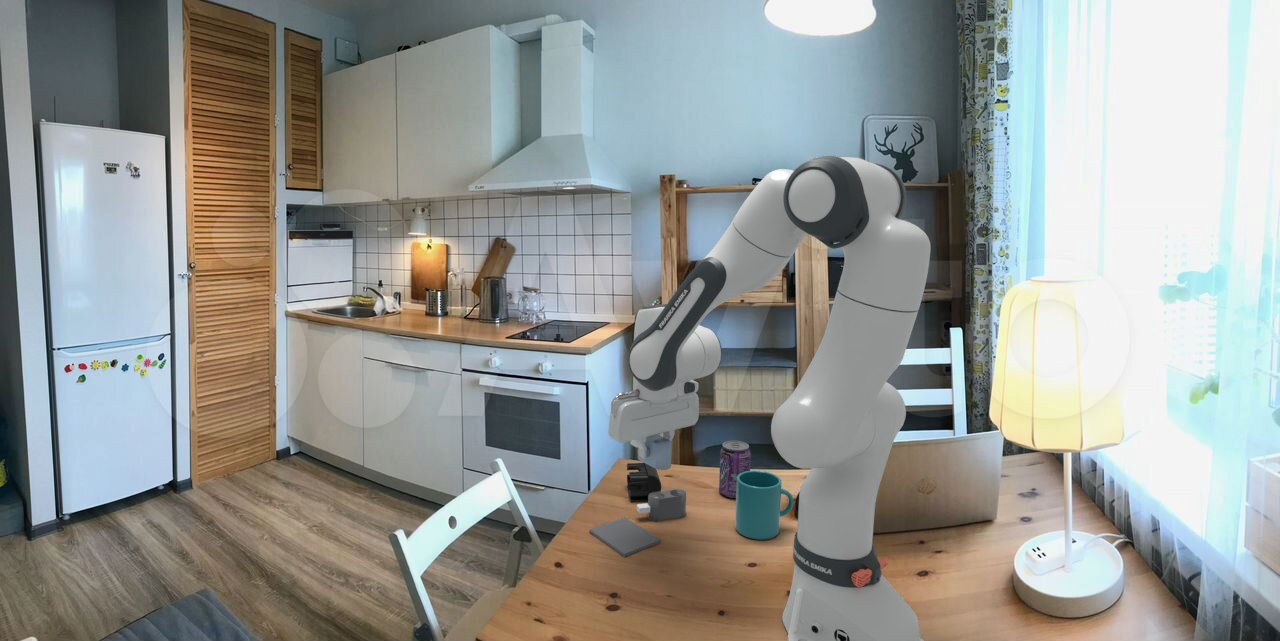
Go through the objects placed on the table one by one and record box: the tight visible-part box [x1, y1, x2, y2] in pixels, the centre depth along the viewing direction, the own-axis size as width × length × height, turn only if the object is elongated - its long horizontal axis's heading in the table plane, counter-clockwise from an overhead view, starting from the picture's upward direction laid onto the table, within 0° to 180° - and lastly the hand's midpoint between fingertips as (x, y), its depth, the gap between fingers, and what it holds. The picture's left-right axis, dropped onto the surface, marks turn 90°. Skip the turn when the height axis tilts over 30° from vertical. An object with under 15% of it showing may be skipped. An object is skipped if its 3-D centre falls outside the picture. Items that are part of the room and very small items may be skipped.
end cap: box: [626, 462, 662, 503], centre depth 144 cm, size 10×7×7 cm
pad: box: [588, 517, 662, 558], centre depth 124 cm, size 12×9×1 cm
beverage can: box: [718, 440, 752, 499], centre depth 144 cm, size 7×7×12 cm
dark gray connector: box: [636, 489, 687, 522], centre depth 133 cm, size 11×4×5 cm, turn 108°
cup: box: [734, 470, 794, 541], centre depth 127 cm, size 9×12×11 cm
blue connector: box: [629, 434, 673, 471], centre depth 122 cm, size 11×4×5 cm, turn 37°
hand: (654, 454), depth 122 cm, fingers closed on blue connector, 3 cm apart
